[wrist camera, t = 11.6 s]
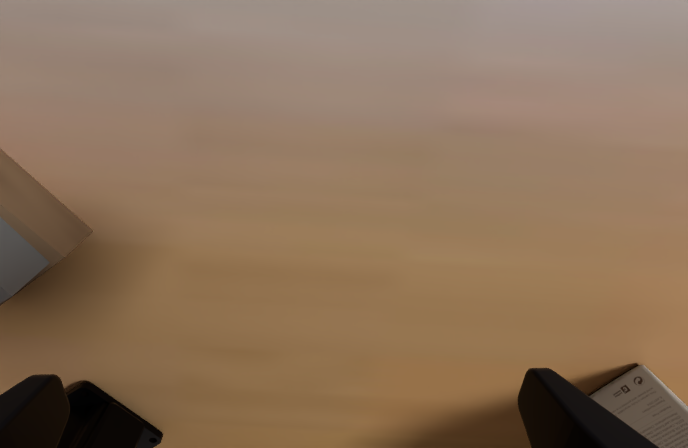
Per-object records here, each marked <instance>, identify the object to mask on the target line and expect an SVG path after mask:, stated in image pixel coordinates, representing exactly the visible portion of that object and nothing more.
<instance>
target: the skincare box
mask: <svg viewBox="0 0 688 448" xmlns="http://www.w3.org/2000/svg"><path fill="white" fill-rule="evenodd" d="M589 397H590V398H592V399H593V400H595V401H596V402H597V403H599V404H600V405H601V406H603V407H604V408H606V409H607V410H608V411H610V412H611V413H612V414H614V415H615V416H617V417H618V418H619V419H621V420H622V421H623V422H625V423H626V424H628V425H629V426H630V427H632V428H633V429H635V430H636V431H637V432H639V433H640V434H641V435H643V436H644V437H646V438H647V439H648V440H650V441H651V442H652V443H654V444H655V445H657V446H658V447H659V448H688V406H687V405H685V404H684V403H683V402H682V401H681V400H680V399H679V398H678V397H677V396H676V395H675V394H674V393H673V392H672V391H671V390H670V389H669V388H668V387H667V386H666V385H665V384H664V383H663V382H662V381H660V380H659V379H658V378H657V377H656V376H655V375H654V374H653V373H652V372H651V371H650V370H649V369H647V368H646V367H645V366H644V365H639V366H637V367H635V368H634V369H632V370H630V371H628V372H627V373H625V374H623V375H622V376H620V377H619V378H617V379H616V380H614V381H612V382H611V383H609V384H608V385H606V386H604V387H603V388H601V389H600V390H598V391H597V392H595V393H594V394H592V395H591V396H589Z"/></svg>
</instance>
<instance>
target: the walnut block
mask: <svg viewBox="0 0 688 448" xmlns="http://www.w3.org/2000/svg"><path fill="white" fill-rule="evenodd" d="M0 217H1V218H2V219H3V220H4V221H5V222H6V223H7V224H9V225H10V226H11V227H12V228H13V229H14V230H15V231H16V232H17V233H18V234H19V235H21V236H22V237H23V238H24V239H25V240H26V241H27V242H28V243H29V244H30V245H31V246H32V247H34V248H35V249H36V250H37V251H38V252H39V253H40V254H41V255H42V256H43V257H44V258H46V259H47V260H48V261H49V262H50V263H49V264H48V265H47V266H46V267H45V268H43V269H42V270H41V271H40V272H39V273H38V274H37V275H36V276H34V277H33V278H32V279H31V280H30V281H29V282H28V283H26V284H25V285H24V286H23V287H22V288H21V289H20V290H22V289H23V288H24V287H26V286H27V285H28V284H30V283H31V282H32V281H34V280H35V279H36V278H38V277H39V276H40V275H42V274H43V273H44V272H46V271H47V270H49V269H50V268H51V267H53V266H54V265H55V264H57V263H58V262H59V261H61V260H62V259H63V258H65V257H66V256H67V255H68V254H69V253H70V252H71V251H72V250H73V249H74V248H76V247H77V246H78V245H79V244H80V243H81V242H82V241H83V240H84V239H85V238H86V237H87V236H89V235H90V234H91V233H92V232H93V230H92V229H90V228H89V227H88V226H87V225H86V224H85V223H84V222H83V221H81V220H80V219H79V218H78V217H77V216H76V215H75V214H74V213H72V212H71V211H70V210H69V209H68V208H67V207H66V206H65V205H63V204H62V203H61V202H60V201H59V200H58V199H57V198H56V197H54V196H53V195H52V194H51V193H50V192H49V191H48V190H47V189H45V188H44V187H43V186H42V185H41V184H40V183H39V182H38V181H36V180H35V179H34V178H33V177H32V176H31V175H30V174H29V173H27V172H26V171H25V170H24V169H23V168H22V167H21V166H20V165H18V164H17V163H16V162H15V161H14V160H13V159H12V158H11V157H9V156H8V155H7V154H6V153H5V152H4V151H3V150H2V149H0ZM20 290H19V291H20ZM19 291H17V292H16V293H18V292H19ZM16 293H15V294H16ZM15 294H14V295H15ZM14 295H13V296H14ZM10 298H11V297H10ZM10 298H8V299H10ZM8 299H7V300H8ZM7 300H5V301H3V302H2V303H0V305H2V304H3V303H4V302H6V301H7Z"/></svg>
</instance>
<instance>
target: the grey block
mask: <svg viewBox="0 0 688 448" xmlns="http://www.w3.org/2000/svg"><path fill="white" fill-rule="evenodd" d="M49 263H50V262H49V261H48V260H47V259H46V258H44V257H43V256H42V255H41V254H40V253H39V252H38V251H37V250H36V249H35V248H34V247H32V246H31V245H30V244H29V243H28V242H27V241H26V240H25V239H24V238H23V237H22V236H21V235H19V234H18V233H17V232H16V231H15V230H14V229H13V228H12V227H11V226H10V225H9V224H7V223H6V222H5V221H4V220H3V219H2V218H1V217H0V303H2V302H3V301H5V300H7V299H8V298H10V297H12V296H13V295H14V294H15V293H16V292H17V291H19V290H20V289H21V288H22V287H23V286H24V285H25V284H26V283H28V282H29V281H30V280H31V279H32V278H33V277H34V276H36V275H37V274H38V273H39V272H40V271H41V270H42V269H43V268H45V267H46V266H47V265H48V264H49Z"/></svg>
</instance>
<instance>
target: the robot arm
mask: <svg viewBox="0 0 688 448" xmlns="http://www.w3.org/2000/svg"><path fill="white" fill-rule="evenodd" d="M518 407H519V411H520V414H521V417H522V420H523V423H524V426H525V429H526V432H527V435H528V438H529V441H530V444H531V447H532V448H659V447H658V446H657V445H655V444H654V443H652V442H651V441H650V440H648V439H647V438H646V437H644V436H643V435H641V434H640V433H639V432H637V431H636V430H635V429H633V428H632V427H630V426H629V425H628V424H626V423H625V422H623V421H622V420H621V419H619V418H618V417H617V416H615V415H614V414H612V413H611V412H610V411H608V410H607V409H606V408H604V407H603V406H601V405H600V404H599V403H597V402H596V401H595V400H593V399H592V398H590V397H589V396H588V395H586V394H585V393H583V392H582V391H581V390H579V389H578V388H577V387H575V386H574V385H572V384H571V383H570V382H568V381H567V380H566V379H564V378H563V377H561V376H560V375H559V374H557V373H556V372H555V371H553V370H551V369H549V368H530V369H529V370H528V371H527V372H526V374H525V377H524V380H523V383H522V386H521V389H520V392H519V395H518ZM162 437H163V433H162V432H161V431H159V430H158V429H156V428H155V427H153V426H152V425H151V424H149V423H148V422H146V421H145V420H143V419H142V418H141V417H139V416H138V415H136V414H135V413H133V412H132V411H131V410H129V409H128V408H126V407H125V406H123V405H122V404H121V403H119V402H118V401H116V400H115V399H113V398H112V397H111V396H109V395H108V394H106V393H105V392H103V391H102V390H101V389H99V388H98V387H96V386H95V385H93V384H91V383H88V382H84V383H81V384H80V385H78V386H77V387H75V388H73V389H72V390H70V391H69V392H67V393H65V390H64V387H63V384H62V381H61V379H60V378H59V377H58V376H57V375H54V374H51V375H32V376H30V377H28V378H26V379H25V380H23V381H22V382H20V383H18V384H17V385H15V386H14V387H12V388H11V389H9V390H8V391H6V392H4V393H3V394H1V395H0V448H153V447H155V446H157V445H158V444H160V443H161V440H162Z"/></svg>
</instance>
